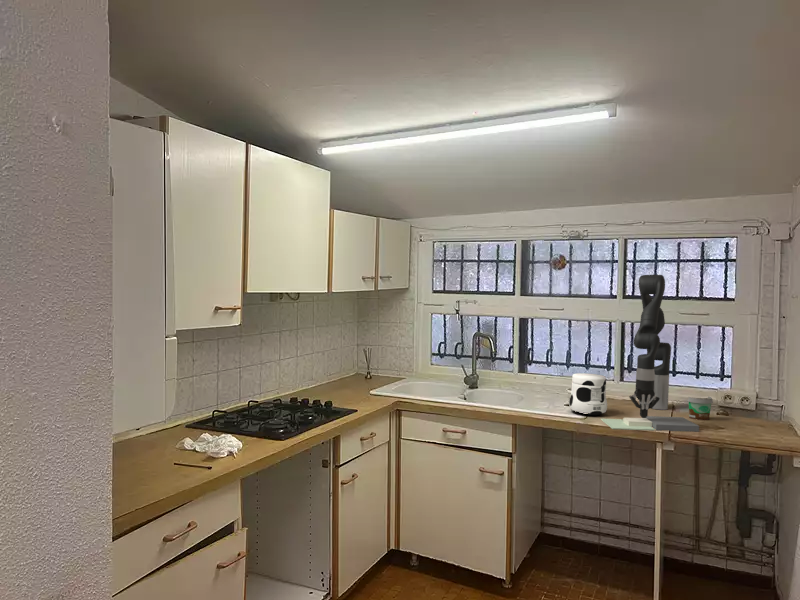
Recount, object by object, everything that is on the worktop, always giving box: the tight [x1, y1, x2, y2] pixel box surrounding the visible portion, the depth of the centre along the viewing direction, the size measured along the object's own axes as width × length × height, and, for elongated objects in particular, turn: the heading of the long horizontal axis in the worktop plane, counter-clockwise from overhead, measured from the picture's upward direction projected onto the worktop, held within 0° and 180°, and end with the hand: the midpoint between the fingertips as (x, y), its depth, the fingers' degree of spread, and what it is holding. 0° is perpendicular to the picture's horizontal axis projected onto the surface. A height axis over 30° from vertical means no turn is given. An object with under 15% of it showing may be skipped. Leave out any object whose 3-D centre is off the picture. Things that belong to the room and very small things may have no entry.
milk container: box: [568, 372, 608, 416], centre depth 283 cm, size 17×17×18 cm
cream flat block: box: [622, 417, 652, 427], centre depth 261 cm, size 7×10×2 cm
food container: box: [687, 395, 714, 421], centre depth 277 cm, size 12×6×10 cm, turn 105°
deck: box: [646, 415, 700, 433], centre depth 261 cm, size 16×18×2 cm
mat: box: [600, 418, 656, 431], centre depth 262 cm, size 17×18×1 cm
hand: (643, 417), depth 262 cm, fingers closed
